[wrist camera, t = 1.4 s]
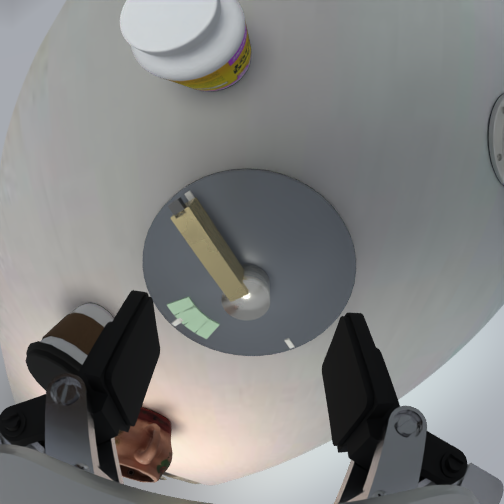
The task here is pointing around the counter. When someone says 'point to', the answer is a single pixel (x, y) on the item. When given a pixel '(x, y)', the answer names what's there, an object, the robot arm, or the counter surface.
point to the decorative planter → (145, 447)
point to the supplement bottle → (189, 40)
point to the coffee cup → (67, 343)
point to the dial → (254, 262)
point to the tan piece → (222, 262)
